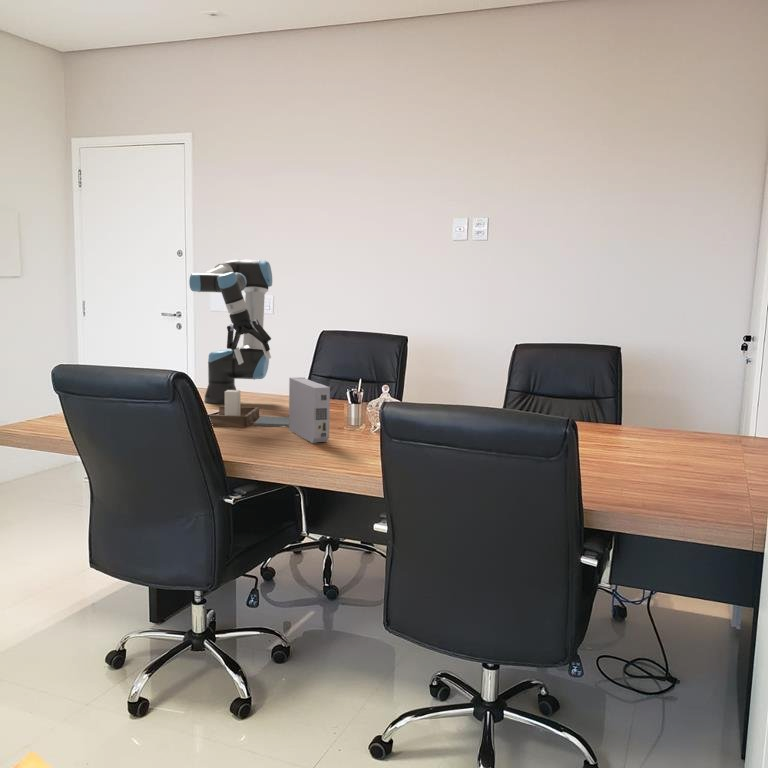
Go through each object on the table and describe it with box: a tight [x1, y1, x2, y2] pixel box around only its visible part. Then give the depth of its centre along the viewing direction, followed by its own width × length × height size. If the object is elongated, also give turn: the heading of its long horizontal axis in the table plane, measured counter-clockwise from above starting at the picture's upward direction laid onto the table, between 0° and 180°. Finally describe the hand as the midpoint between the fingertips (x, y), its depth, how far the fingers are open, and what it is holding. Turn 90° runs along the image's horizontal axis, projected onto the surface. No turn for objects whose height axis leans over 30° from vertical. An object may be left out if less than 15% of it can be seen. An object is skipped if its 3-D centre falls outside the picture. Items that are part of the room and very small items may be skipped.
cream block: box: [224, 389, 241, 416], centre depth 304 cm, size 5×5×12 cm
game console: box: [288, 376, 331, 444], centre depth 277 cm, size 6×27×20 cm, turn 25°
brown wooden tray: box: [208, 405, 260, 428], centre depth 304 cm, size 21×16×4 cm
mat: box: [252, 415, 289, 428], centre depth 303 cm, size 15×14×1 cm
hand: (254, 361), depth 312 cm, fingers open, 13 cm apart
